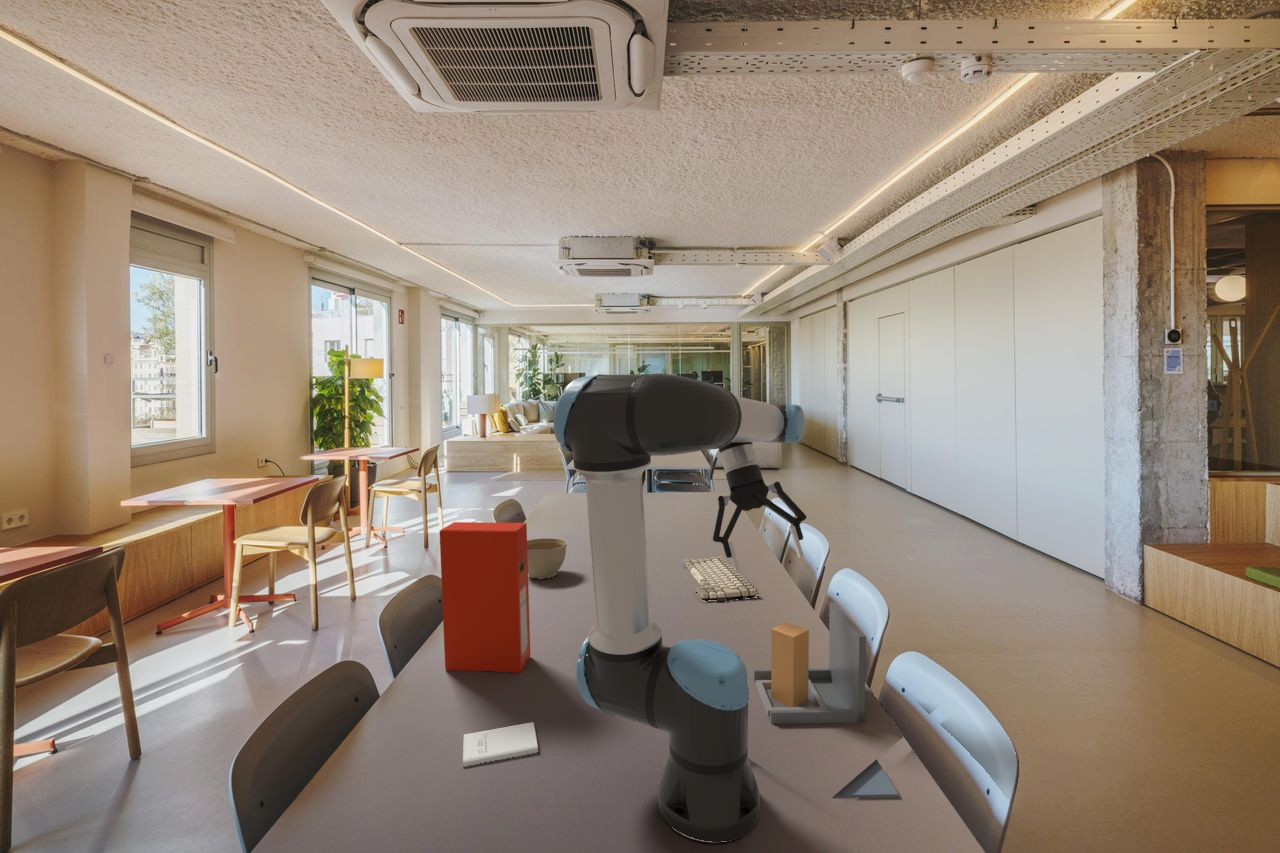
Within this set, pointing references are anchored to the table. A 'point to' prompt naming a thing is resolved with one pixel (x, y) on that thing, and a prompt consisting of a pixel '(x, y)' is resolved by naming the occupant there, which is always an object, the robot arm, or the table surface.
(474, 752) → the external hard drive
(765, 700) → the case
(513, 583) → the file binder
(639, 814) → the table surface
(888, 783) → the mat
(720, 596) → the mechanical keyboard
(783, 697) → the module
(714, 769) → the robot arm
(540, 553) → the planter bowl
